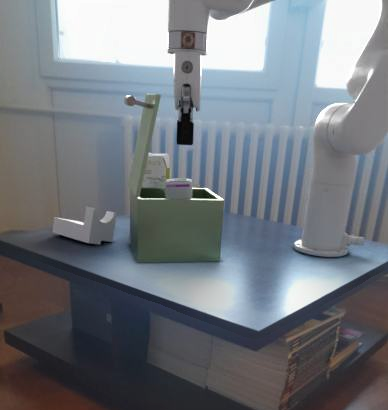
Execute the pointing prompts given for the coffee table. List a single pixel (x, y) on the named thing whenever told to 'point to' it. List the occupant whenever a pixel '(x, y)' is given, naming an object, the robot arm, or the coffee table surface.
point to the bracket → (87, 227)
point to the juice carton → (156, 170)
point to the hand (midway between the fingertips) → (184, 142)
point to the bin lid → (142, 138)
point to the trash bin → (176, 226)
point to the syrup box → (178, 188)
